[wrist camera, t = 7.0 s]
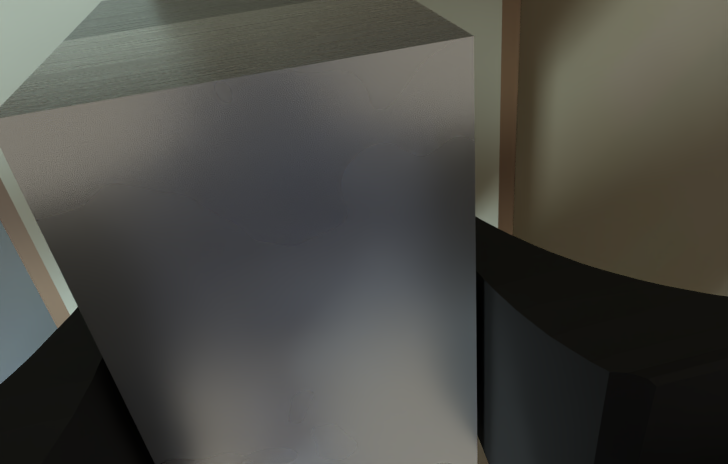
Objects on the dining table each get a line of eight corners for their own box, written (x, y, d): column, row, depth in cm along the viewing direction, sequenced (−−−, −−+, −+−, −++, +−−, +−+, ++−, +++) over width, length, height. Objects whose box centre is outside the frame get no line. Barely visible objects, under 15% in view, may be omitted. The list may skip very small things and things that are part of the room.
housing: (353, -38, 11) (474, 34, 6) (393, 328, 15) (478, 544, 10) (101, 1, 10) (-13, 120, 5) (225, 368, 15) (228, 614, 10)
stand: (499, 310, 20) (525, 350, 18) (111, 402, 18) (100, 454, 17) (511, -192, 12) (557, -203, 11) (-150, -110, 11) (-218, -107, 9)
